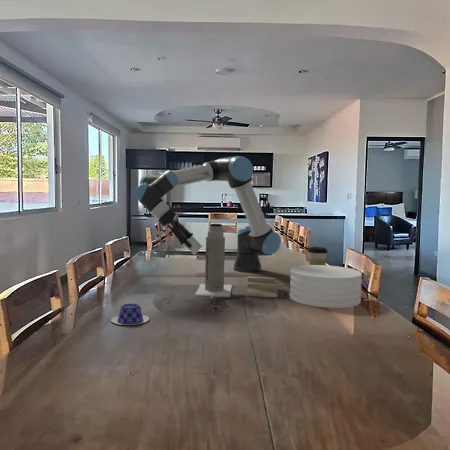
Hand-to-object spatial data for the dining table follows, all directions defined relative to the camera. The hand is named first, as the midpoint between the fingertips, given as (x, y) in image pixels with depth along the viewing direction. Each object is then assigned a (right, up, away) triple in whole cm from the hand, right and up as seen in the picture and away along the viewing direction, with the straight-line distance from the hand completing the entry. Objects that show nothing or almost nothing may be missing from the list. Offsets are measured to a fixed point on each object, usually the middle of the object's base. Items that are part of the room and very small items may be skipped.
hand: (198, 250), depth 180 cm
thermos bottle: (+7, -17, +1) cm, 18 cm away
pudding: (-19, -20, -43) cm, 51 cm away
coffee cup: (+58, -16, +36) cm, 70 cm away
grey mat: (+7, -17, +1) cm, 18 cm away
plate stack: (+52, -19, -7) cm, 55 cm away
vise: (+28, -18, 0) cm, 33 cm away
